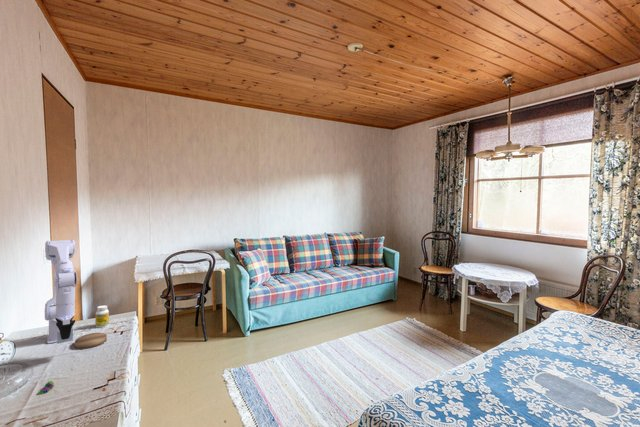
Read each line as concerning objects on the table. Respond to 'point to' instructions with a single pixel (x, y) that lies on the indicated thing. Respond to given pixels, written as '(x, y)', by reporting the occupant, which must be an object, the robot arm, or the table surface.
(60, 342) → the blue cube
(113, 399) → the table surface
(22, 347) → the table surface
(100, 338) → the walnut bowl
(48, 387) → the green pink pointed oval
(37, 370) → the table surface
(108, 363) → the table surface
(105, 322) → the supplement bottle
